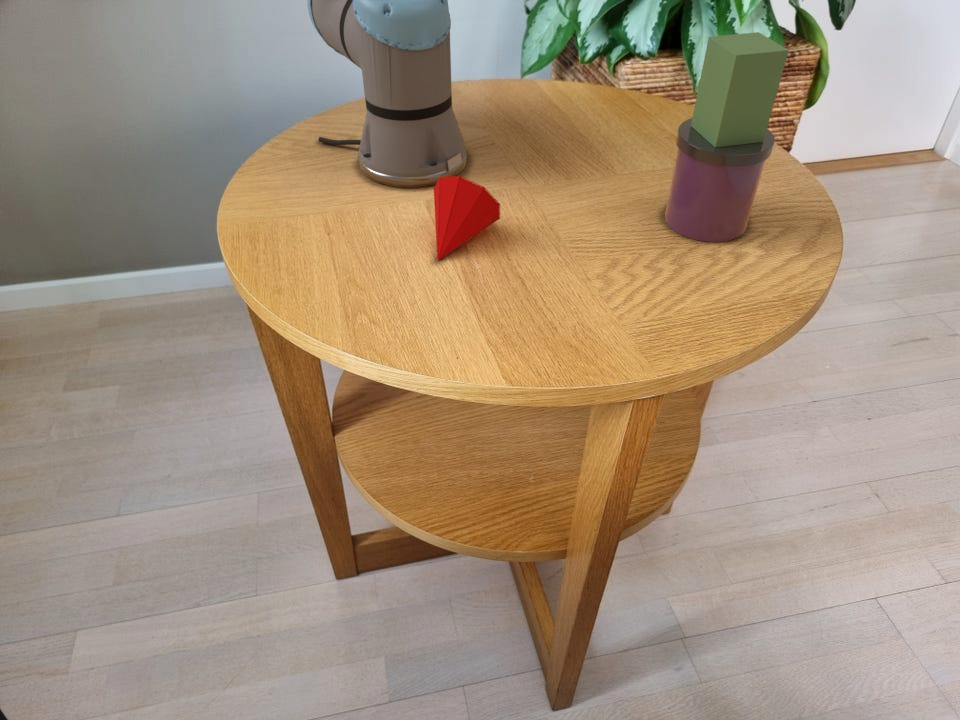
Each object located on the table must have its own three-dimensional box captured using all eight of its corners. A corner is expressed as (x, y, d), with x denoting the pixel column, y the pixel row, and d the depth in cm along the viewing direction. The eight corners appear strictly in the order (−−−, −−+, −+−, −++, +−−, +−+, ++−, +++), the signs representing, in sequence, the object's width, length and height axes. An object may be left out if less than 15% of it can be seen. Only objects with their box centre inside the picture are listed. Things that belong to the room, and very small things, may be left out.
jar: (657, 236, 85) (674, 148, 78) (665, 194, 93) (681, 110, 85) (749, 249, 83) (776, 160, 75) (749, 205, 91) (774, 120, 83)
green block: (714, 148, 78) (736, 55, 71) (690, 126, 82) (708, 36, 75) (763, 142, 79) (789, 50, 72) (736, 120, 83) (758, 31, 76)
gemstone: (482, 266, 78) (515, 196, 81) (412, 228, 77) (449, 158, 80) (461, 291, 87) (492, 226, 90) (398, 257, 85) (431, 192, 88)
